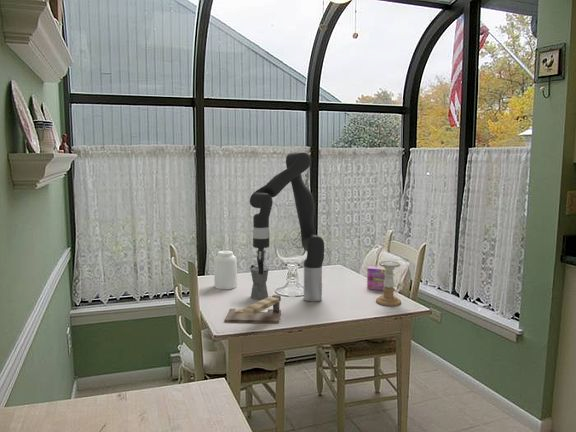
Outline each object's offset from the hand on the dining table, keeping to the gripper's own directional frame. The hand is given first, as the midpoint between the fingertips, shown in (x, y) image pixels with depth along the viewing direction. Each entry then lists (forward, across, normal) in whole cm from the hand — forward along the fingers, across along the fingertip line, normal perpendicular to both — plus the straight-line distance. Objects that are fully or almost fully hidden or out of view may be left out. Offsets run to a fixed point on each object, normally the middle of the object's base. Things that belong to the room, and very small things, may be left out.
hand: (261, 273), depth 223 cm
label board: (+19, -4, +3) cm, 20 cm away
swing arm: (+12, -9, -2) cm, 16 cm away
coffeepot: (+19, +27, +4) cm, 33 cm away
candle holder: (+19, +21, -62) cm, 68 cm away
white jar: (+19, +44, +24) cm, 54 cm away
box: (+19, +46, -60) cm, 78 cm away
